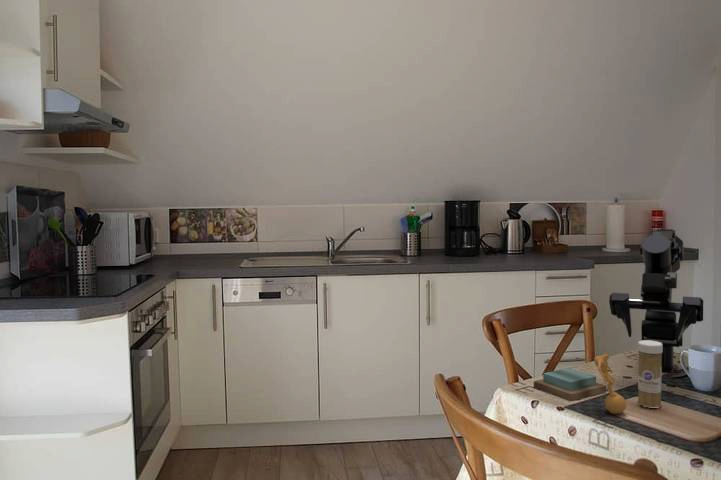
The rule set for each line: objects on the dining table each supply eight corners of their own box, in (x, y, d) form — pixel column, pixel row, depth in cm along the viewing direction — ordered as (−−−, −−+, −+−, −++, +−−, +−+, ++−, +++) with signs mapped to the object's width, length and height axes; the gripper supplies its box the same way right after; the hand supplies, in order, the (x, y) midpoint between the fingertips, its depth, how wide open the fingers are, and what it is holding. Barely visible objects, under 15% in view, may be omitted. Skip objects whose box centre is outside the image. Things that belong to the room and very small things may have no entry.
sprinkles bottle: (638, 408, 121) (638, 343, 121) (636, 401, 126) (637, 338, 125) (663, 410, 120) (663, 345, 119) (660, 403, 124) (661, 340, 123)
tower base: (567, 380, 141) (567, 365, 141) (606, 392, 132) (606, 377, 131) (533, 387, 136) (533, 372, 136) (571, 401, 126) (571, 385, 126)
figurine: (623, 421, 114) (624, 360, 113) (590, 416, 117) (591, 357, 116) (628, 408, 121) (628, 350, 121) (597, 404, 124) (597, 348, 124)
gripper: (610, 258, 136) (602, 313, 127) (703, 260, 127) (702, 320, 118) (615, 287, 143) (608, 341, 134) (703, 291, 134) (702, 350, 125)
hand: (652, 338), depth 128 cm, fingers open, 9 cm apart
